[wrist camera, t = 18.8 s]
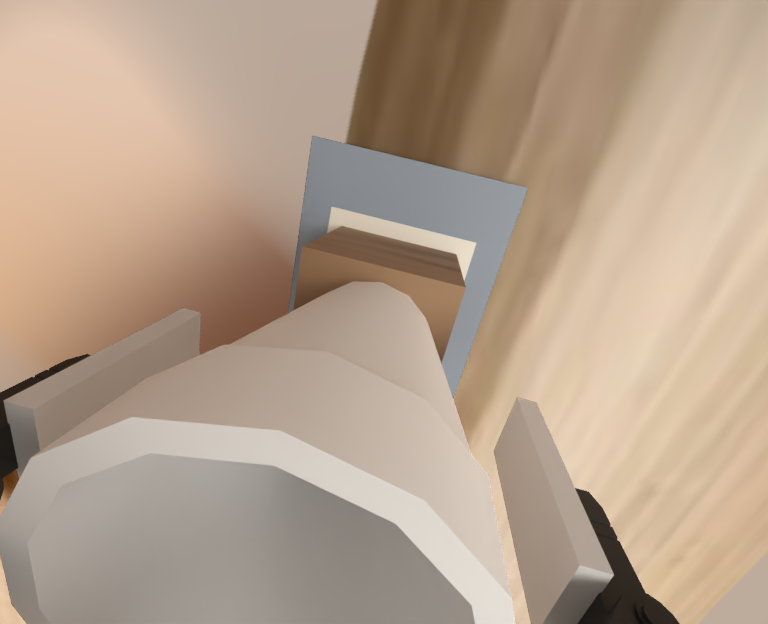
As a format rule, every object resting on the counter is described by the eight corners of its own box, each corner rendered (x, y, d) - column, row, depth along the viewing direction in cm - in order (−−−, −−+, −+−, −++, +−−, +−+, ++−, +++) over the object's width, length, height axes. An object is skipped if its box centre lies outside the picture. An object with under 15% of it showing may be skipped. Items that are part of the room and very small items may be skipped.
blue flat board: (316, 137, 24) (311, 135, 23) (524, 187, 23) (528, 187, 22) (284, 367, 31) (279, 373, 30) (445, 411, 30) (446, 419, 29)
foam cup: (244, 318, 19) (-87, 561, 7) (381, 206, 16) (230, 282, 4) (357, 444, 21) (254, 810, 9) (498, 363, 18) (635, 737, 6)
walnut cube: (342, 225, 25) (302, 246, 17) (456, 254, 24) (465, 287, 17) (323, 329, 28) (282, 385, 20) (425, 356, 27) (422, 423, 20)
